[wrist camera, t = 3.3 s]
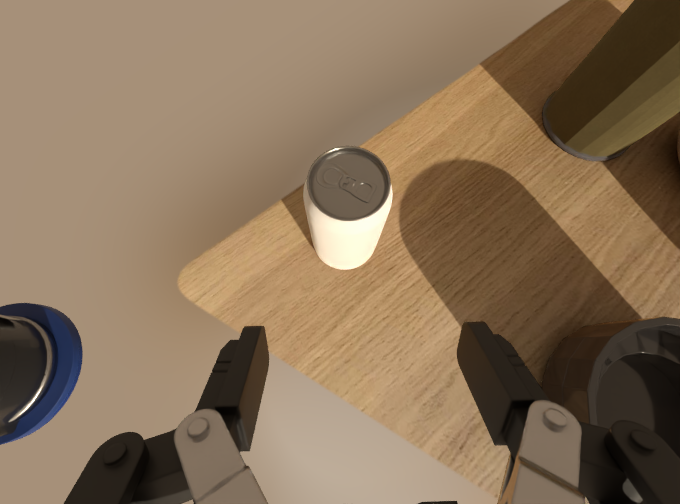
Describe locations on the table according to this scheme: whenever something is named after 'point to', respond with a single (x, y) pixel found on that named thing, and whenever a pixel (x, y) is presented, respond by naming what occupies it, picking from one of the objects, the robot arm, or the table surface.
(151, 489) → the robot arm
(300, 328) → the table surface
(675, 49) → the canister
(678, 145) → the planter
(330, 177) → the can
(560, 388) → the bowl
